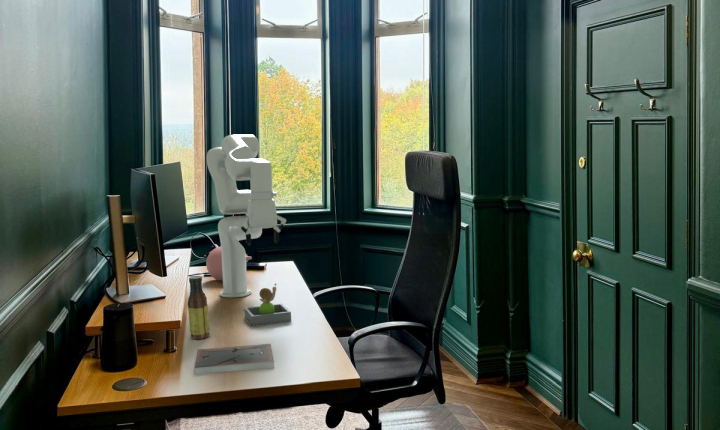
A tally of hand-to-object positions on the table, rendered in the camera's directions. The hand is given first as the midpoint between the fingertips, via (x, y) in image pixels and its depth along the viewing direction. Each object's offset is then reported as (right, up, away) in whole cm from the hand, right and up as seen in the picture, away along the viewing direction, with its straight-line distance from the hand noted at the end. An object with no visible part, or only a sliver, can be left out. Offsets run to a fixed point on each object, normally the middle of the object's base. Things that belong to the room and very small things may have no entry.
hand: (262, 243), depth 246 cm
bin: (+2, -26, -4) cm, 27 cm away
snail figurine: (+2, -26, -4) cm, 26 cm away
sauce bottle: (-17, -29, -23) cm, 41 cm away
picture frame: (-2, -33, -47) cm, 57 cm away
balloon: (-23, -19, +62) cm, 69 cm away
